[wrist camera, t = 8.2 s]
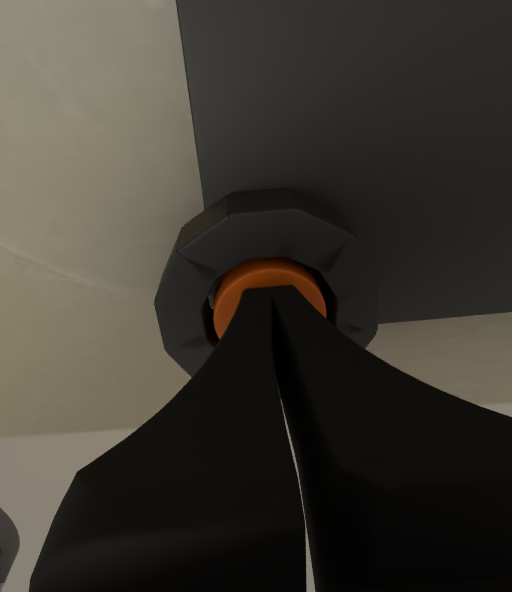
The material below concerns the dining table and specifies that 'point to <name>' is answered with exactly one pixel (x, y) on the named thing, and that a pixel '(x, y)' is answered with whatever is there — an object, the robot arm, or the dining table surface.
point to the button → (262, 285)
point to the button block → (348, 158)
